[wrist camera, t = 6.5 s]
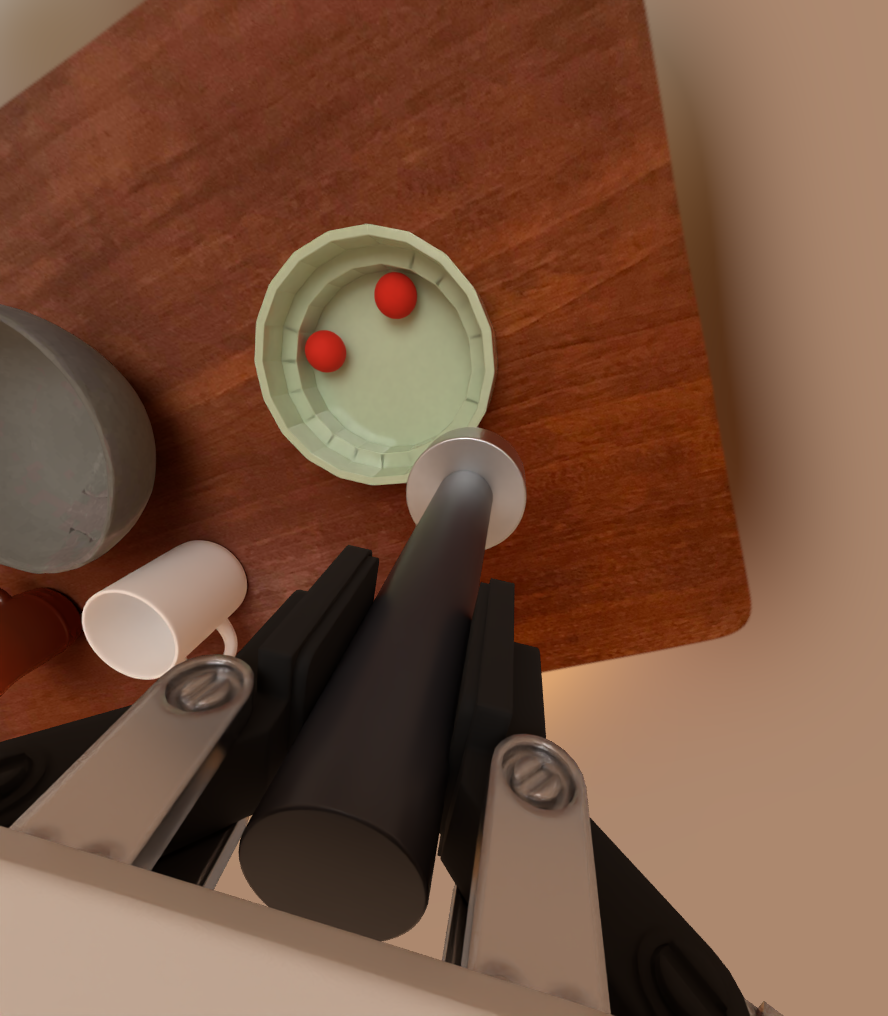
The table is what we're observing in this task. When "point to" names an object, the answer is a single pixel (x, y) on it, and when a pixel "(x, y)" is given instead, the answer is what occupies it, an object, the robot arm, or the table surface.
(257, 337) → the mixing bowl
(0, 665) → the mug
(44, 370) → the bowl
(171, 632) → the cup
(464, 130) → the table surface
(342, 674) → the dark post
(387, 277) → the tomato
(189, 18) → the table surface
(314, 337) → the tomato
